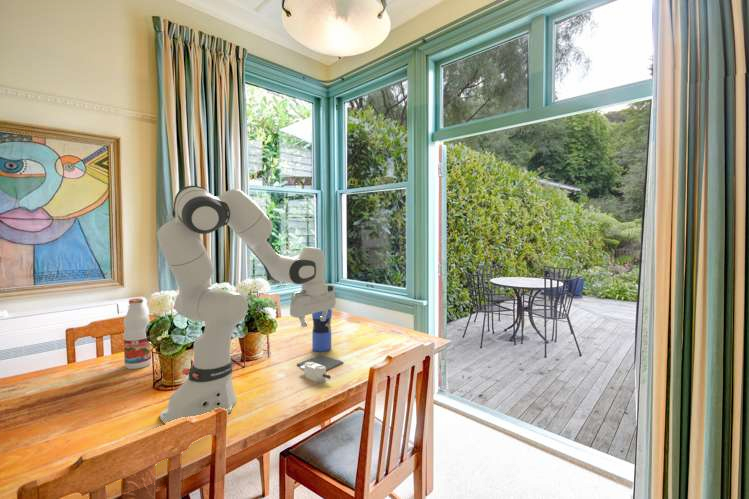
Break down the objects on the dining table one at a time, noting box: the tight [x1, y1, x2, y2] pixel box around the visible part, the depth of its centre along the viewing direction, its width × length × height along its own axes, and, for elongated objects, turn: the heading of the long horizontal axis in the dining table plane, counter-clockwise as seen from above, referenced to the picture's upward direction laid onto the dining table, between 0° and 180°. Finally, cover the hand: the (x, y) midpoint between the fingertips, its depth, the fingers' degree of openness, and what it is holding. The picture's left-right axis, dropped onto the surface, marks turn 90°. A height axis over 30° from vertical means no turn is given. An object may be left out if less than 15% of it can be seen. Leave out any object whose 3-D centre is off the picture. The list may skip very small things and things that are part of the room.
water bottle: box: [311, 308, 333, 353], centre depth 173 cm, size 9×9×25 cm
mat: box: [296, 354, 344, 372], centre depth 155 cm, size 14×14×1 cm
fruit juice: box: [123, 297, 152, 370], centre depth 150 cm, size 9×9×28 cm
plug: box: [299, 362, 332, 383], centre depth 141 cm, size 15×4×5 cm, turn 54°
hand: (313, 323), depth 140 cm, fingers open, 8 cm apart
